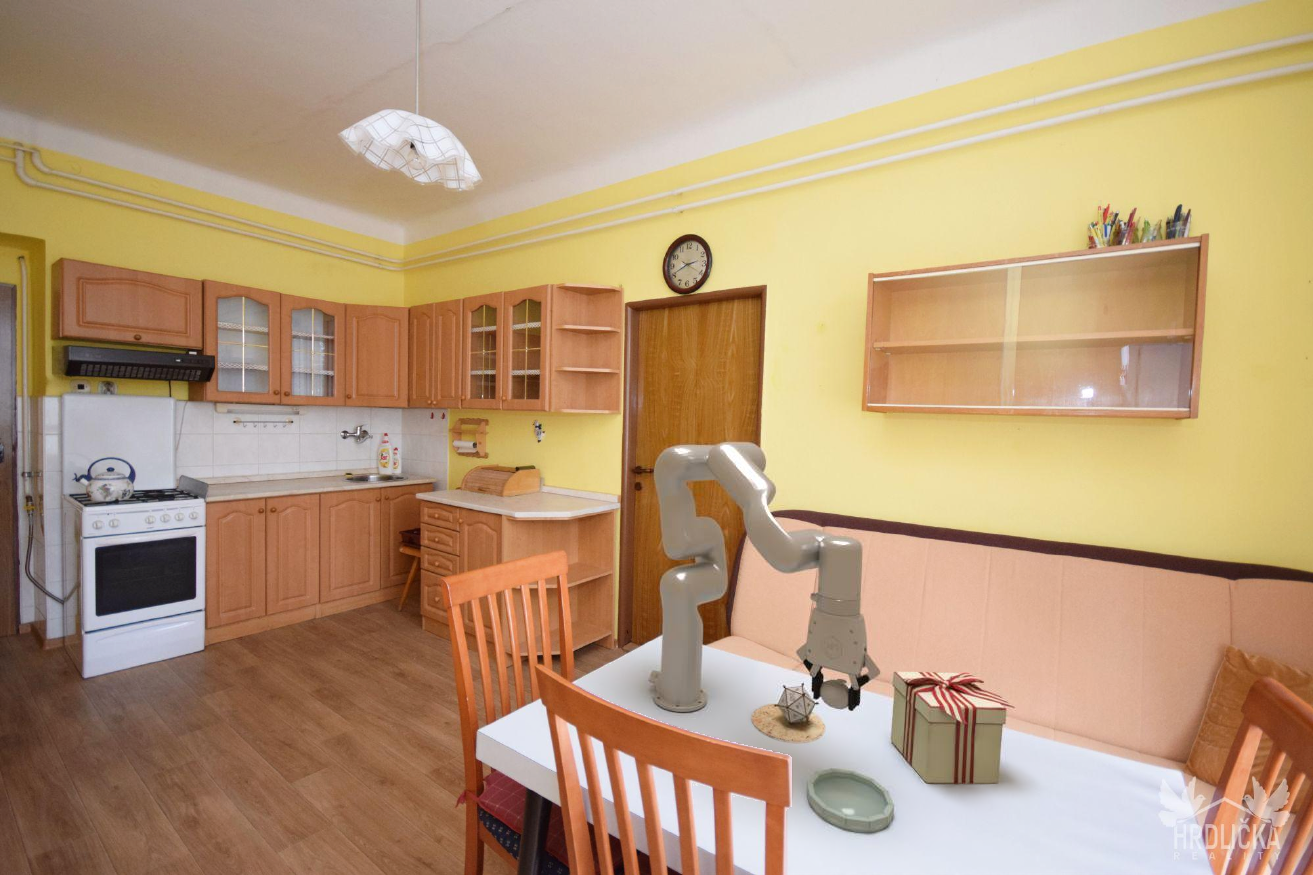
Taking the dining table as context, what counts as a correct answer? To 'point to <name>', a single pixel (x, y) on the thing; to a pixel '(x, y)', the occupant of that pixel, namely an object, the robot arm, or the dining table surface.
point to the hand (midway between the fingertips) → (835, 701)
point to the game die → (796, 704)
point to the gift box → (948, 727)
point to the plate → (850, 800)
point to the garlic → (835, 693)
